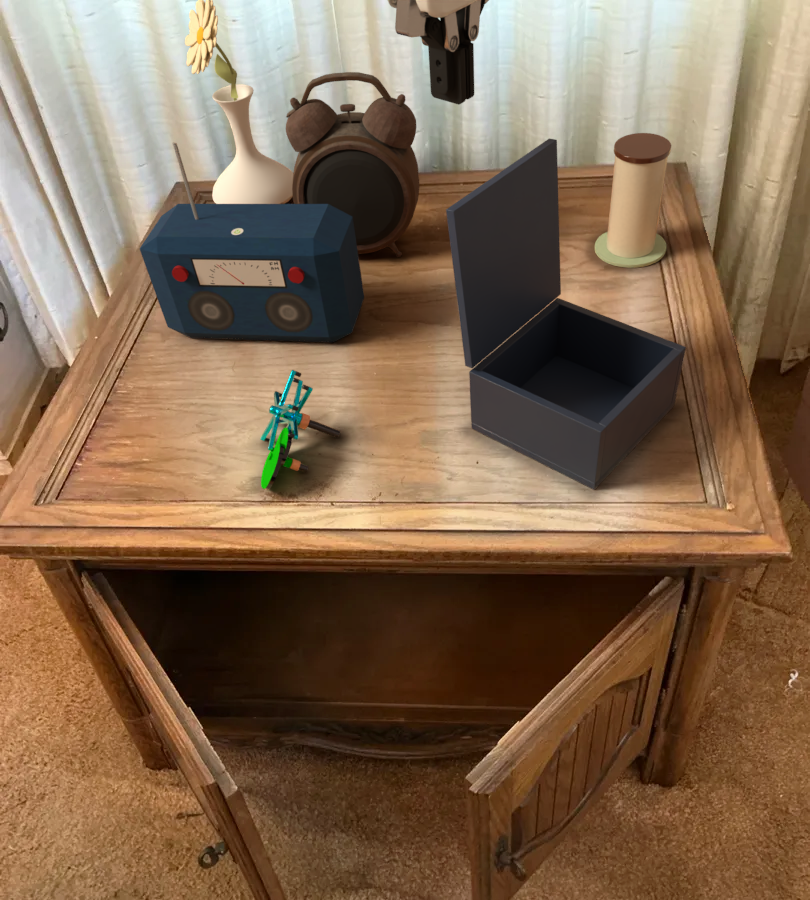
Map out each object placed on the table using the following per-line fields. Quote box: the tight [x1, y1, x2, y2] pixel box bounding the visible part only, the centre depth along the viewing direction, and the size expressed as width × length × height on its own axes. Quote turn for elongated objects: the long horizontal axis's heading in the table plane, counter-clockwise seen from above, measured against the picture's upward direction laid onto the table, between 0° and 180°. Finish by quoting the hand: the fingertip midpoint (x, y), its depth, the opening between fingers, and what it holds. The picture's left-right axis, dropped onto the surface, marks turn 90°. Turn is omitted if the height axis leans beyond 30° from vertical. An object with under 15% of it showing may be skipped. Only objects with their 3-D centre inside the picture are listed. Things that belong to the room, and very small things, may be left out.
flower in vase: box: [184, 0, 294, 204], centre depth 103 cm, size 13×11×25 cm
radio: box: [139, 142, 365, 343], centre depth 87 cm, size 21×9×20 cm, turn 80°
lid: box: [445, 138, 562, 369], centre depth 73 cm, size 14×14×1 cm
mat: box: [594, 231, 667, 269], centre depth 97 cm, size 8×8×1 cm
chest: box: [468, 297, 687, 490], centre depth 77 cm, size 14×14×7 cm
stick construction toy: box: [259, 369, 341, 491], centre depth 79 cm, size 12×7×8 cm
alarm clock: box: [285, 71, 420, 258], centre depth 95 cm, size 15×7×20 cm, turn 86°
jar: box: [606, 132, 672, 258], centre depth 93 cm, size 6×6×12 cm
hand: (452, 96), depth 68 cm, fingers closed
